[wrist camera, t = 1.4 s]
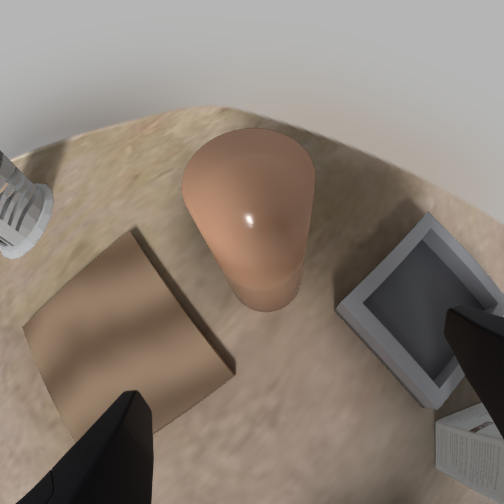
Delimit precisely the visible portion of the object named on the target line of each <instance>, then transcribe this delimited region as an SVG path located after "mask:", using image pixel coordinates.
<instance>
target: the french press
mask: <svg viewBox="0 0 504 504" xmlns="http://www.w3.org/2000/svg"><path fill="white" fill-rule="evenodd" d="M6 182H7V183H8V184H9V185H8V186H7V187H6V189H5V190H4V191H3V192H2V193H1V194H0V251H1V253H2V254H3V256H4V257H6V258H9V259H15V258H18V257H21V256H23V255H24V254H25V253H26V252H28V251H29V250H30V249H31V248H32V247H33V246H34V245H35V244H36V242H37V241H38V239H39V238H40V237H41V235H42V234H43V232H44V231H45V228H46V226H47V224H48V221H49V219H50V217H51V213H52V207H53V202H54V199H53V194H52V189H51V188H50V187H48V186H47V185H46V184H40V183H36V184H33V183H32V182H31V181H30V180H29V179H28V178H27V177H26V176H25V175H24V174H23V173H22V172H21V171H20V170H19V169H18V168H17V167H16V166H15V165H14V164H13V163H12V162H11V161H10V160H9V159H8V158H7V157H6V156H5V155H4V154H3V153H2V152H1V151H0V189H1V188H2V187H3V185H4V184H5V183H6ZM13 189H15V190H14V192H13V193H12V194H11V196H10V197H9V198H8V196H9V195H10V193H11V192H12V190H13ZM7 198H8V199H7Z"/></svg>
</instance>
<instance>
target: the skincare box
mask: <svg viewBox="0 0 504 504" xmlns="http://www.w3.org/2000/svg"><path fill="white" fill-rule="evenodd" d="M435 454H436V469H438V470H440V471H441V472H443V473H445V474H447V475H448V476H450V477H452V478H454V479H455V480H457V481H459V482H461V483H462V484H464V485H466V486H468V487H470V488H471V489H473V490H475V491H477V492H479V493H481V494H483V495H485V496H486V497H488V498H490V499H492V500H494V501H496V502H498V503H500V504H504V440H503V438H502V436H501V434H500V432H499V430H498V429H497V427H496V425H495V423H494V422H493V420H492V418H491V417H490V415H489V413H488V411H487V410H486V408H485V406H484V405H483V403H479V404H476V405H474V406H471V407H469V408H466V409H464V410H461V411H458V412H456V413H454V414H451V415H449V416H446V417H444V418H441V419H439V420H437V421H436V423H435Z"/></svg>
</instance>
